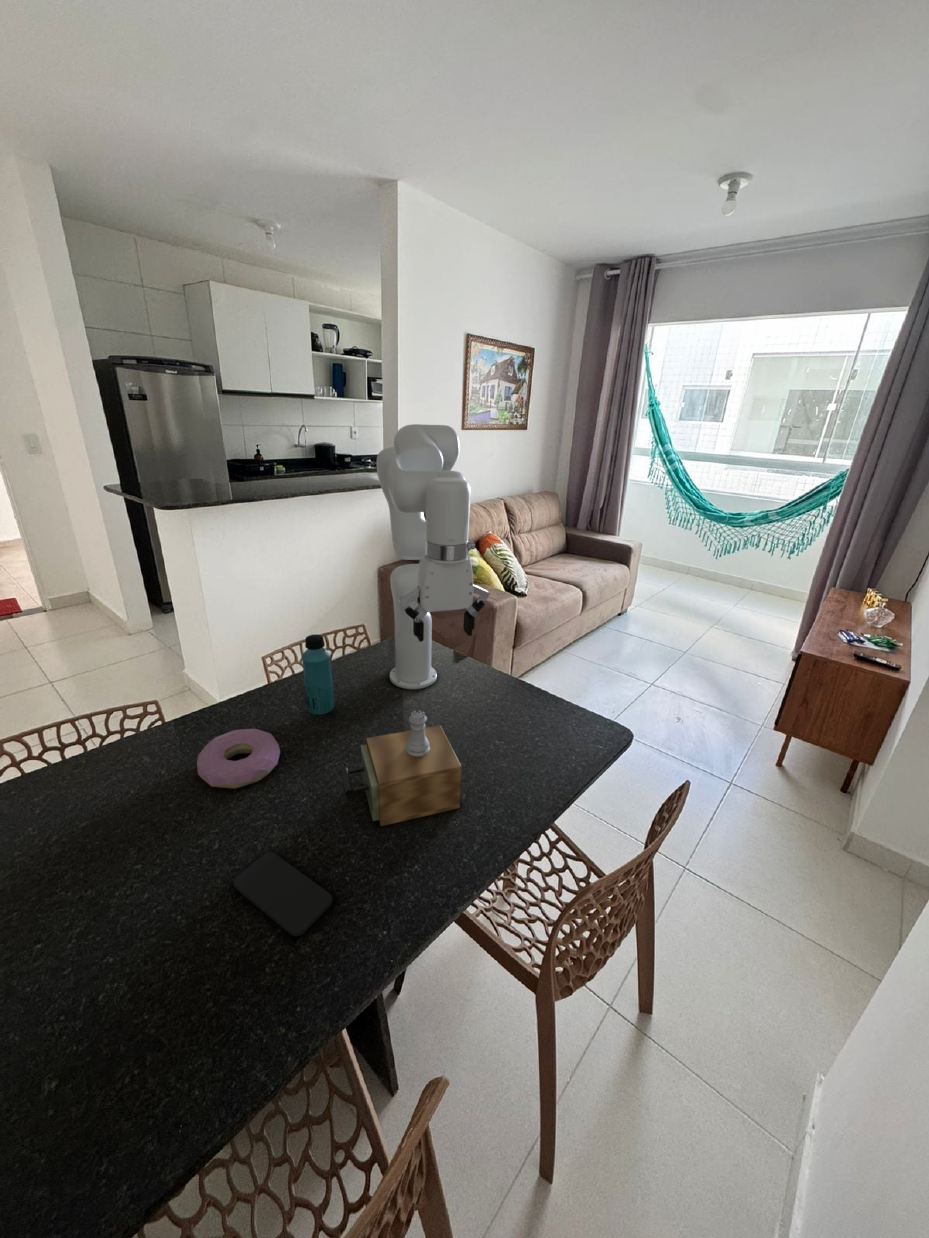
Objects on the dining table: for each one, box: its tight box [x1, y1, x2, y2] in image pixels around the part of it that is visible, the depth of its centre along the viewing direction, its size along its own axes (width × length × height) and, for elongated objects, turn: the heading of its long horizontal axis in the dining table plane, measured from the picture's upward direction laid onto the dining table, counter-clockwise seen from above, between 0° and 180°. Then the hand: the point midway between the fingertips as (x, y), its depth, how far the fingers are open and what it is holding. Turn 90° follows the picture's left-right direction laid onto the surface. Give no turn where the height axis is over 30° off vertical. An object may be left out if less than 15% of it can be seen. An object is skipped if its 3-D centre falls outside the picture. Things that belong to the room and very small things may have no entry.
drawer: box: [340, 743, 380, 822], centre depth 95 cm, size 18×12×8 cm, turn 110°
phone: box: [232, 851, 333, 937], centre depth 77 cm, size 7×1×15 cm
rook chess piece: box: [406, 709, 430, 757], centre depth 93 cm, size 4×4×8 cm
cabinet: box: [365, 724, 462, 827], centre depth 96 cm, size 15×13×10 cm
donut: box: [196, 728, 281, 790], centre depth 102 cm, size 16×15×5 cm
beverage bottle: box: [301, 634, 336, 716], centre depth 117 cm, size 6×7×20 cm
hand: (443, 635), depth 98 cm, fingers open, 9 cm apart
